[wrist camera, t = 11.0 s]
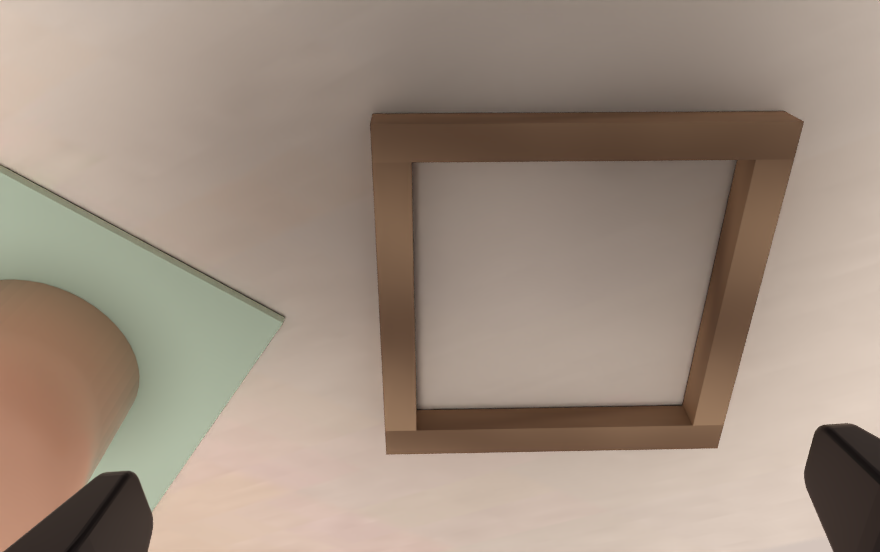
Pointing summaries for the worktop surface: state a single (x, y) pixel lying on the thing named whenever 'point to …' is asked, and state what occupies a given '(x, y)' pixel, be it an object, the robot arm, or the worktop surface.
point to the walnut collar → (580, 139)
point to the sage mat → (140, 324)
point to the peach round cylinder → (55, 398)
